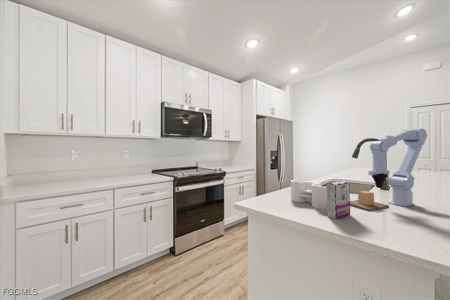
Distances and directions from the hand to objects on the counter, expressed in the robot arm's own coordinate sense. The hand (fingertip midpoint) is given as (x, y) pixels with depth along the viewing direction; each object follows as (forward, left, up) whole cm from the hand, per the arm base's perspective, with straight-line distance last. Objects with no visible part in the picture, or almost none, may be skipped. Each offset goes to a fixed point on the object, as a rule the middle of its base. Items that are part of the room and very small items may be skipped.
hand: (379, 187), depth 111 cm
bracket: (+29, -20, -11) cm, 37 cm away
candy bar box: (+33, +2, -11) cm, 35 cm away
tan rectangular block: (+5, -4, -9) cm, 11 cm away
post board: (+5, -4, -10) cm, 12 cm away
